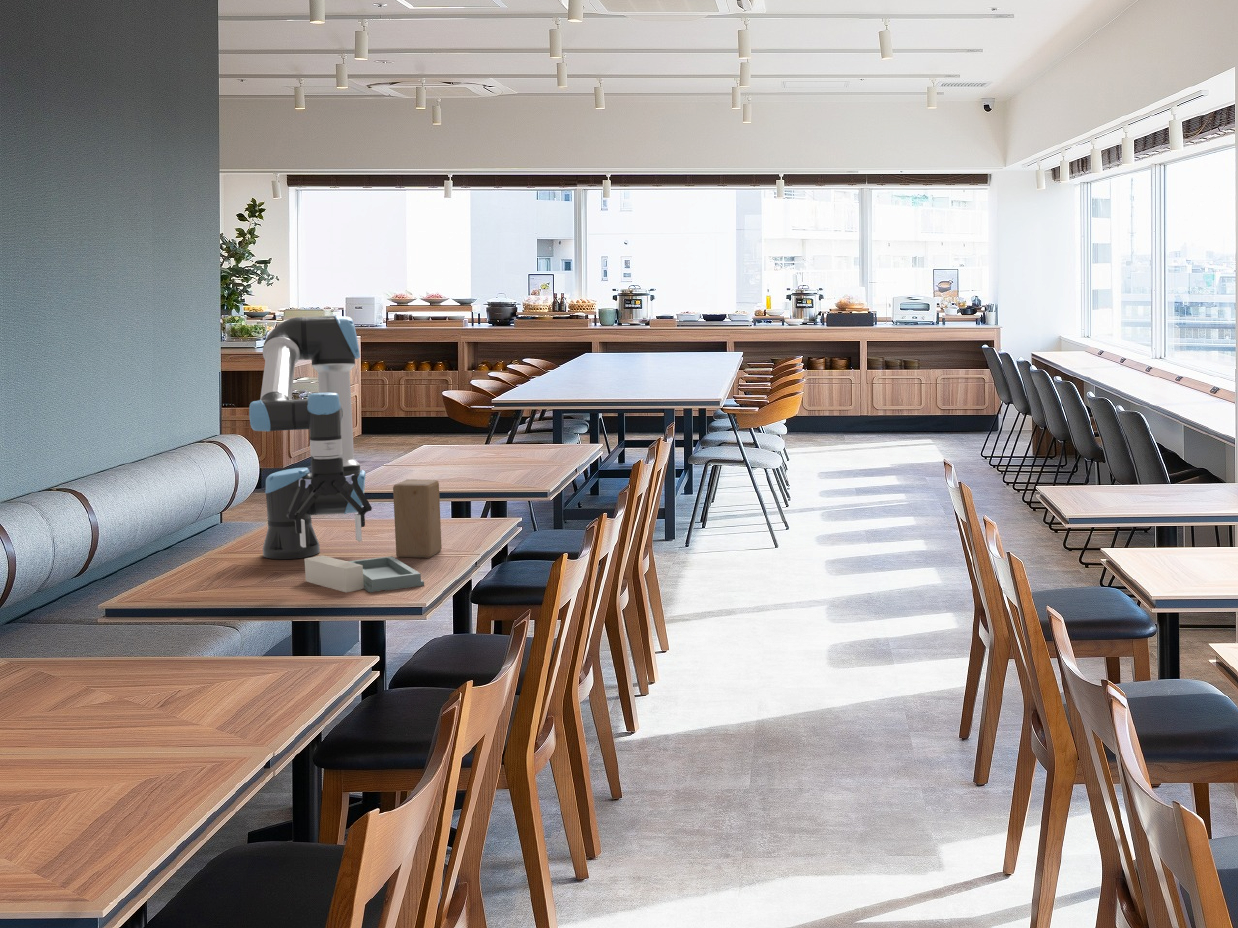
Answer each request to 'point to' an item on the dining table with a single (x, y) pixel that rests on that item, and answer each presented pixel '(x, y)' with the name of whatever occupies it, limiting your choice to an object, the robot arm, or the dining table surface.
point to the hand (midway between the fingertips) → (331, 543)
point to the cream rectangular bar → (334, 573)
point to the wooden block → (417, 518)
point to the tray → (388, 574)
